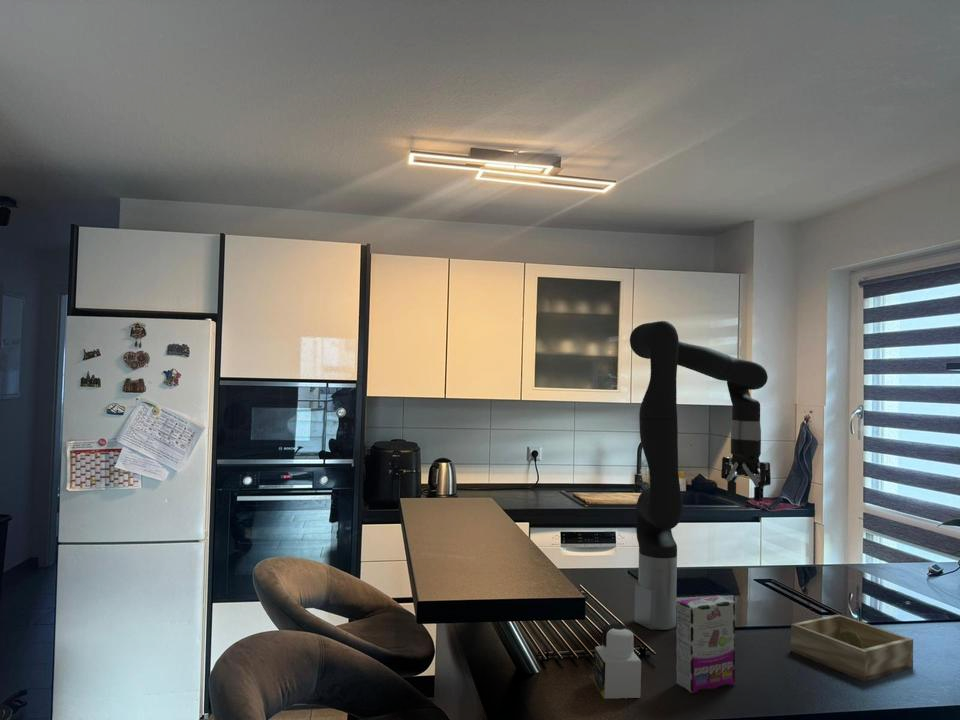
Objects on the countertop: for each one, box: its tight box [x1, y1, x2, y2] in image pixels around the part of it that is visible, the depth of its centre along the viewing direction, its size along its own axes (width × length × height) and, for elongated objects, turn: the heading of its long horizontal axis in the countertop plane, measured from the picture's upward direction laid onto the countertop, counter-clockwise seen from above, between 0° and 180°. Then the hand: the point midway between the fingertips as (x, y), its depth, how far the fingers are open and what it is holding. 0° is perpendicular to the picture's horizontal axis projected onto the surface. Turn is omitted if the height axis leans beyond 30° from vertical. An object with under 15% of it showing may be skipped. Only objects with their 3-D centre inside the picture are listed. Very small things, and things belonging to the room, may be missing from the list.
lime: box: [837, 631, 862, 649], centre depth 146 cm, size 4×5×5 cm
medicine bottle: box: [593, 623, 642, 700], centre depth 127 cm, size 7×7×12 cm
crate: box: [790, 613, 914, 683], centre depth 146 cm, size 17×17×6 cm
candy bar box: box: [675, 594, 736, 694], centre depth 131 cm, size 11×5×16 cm, turn 114°
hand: (744, 498), depth 176 cm, fingers open, 8 cm apart
